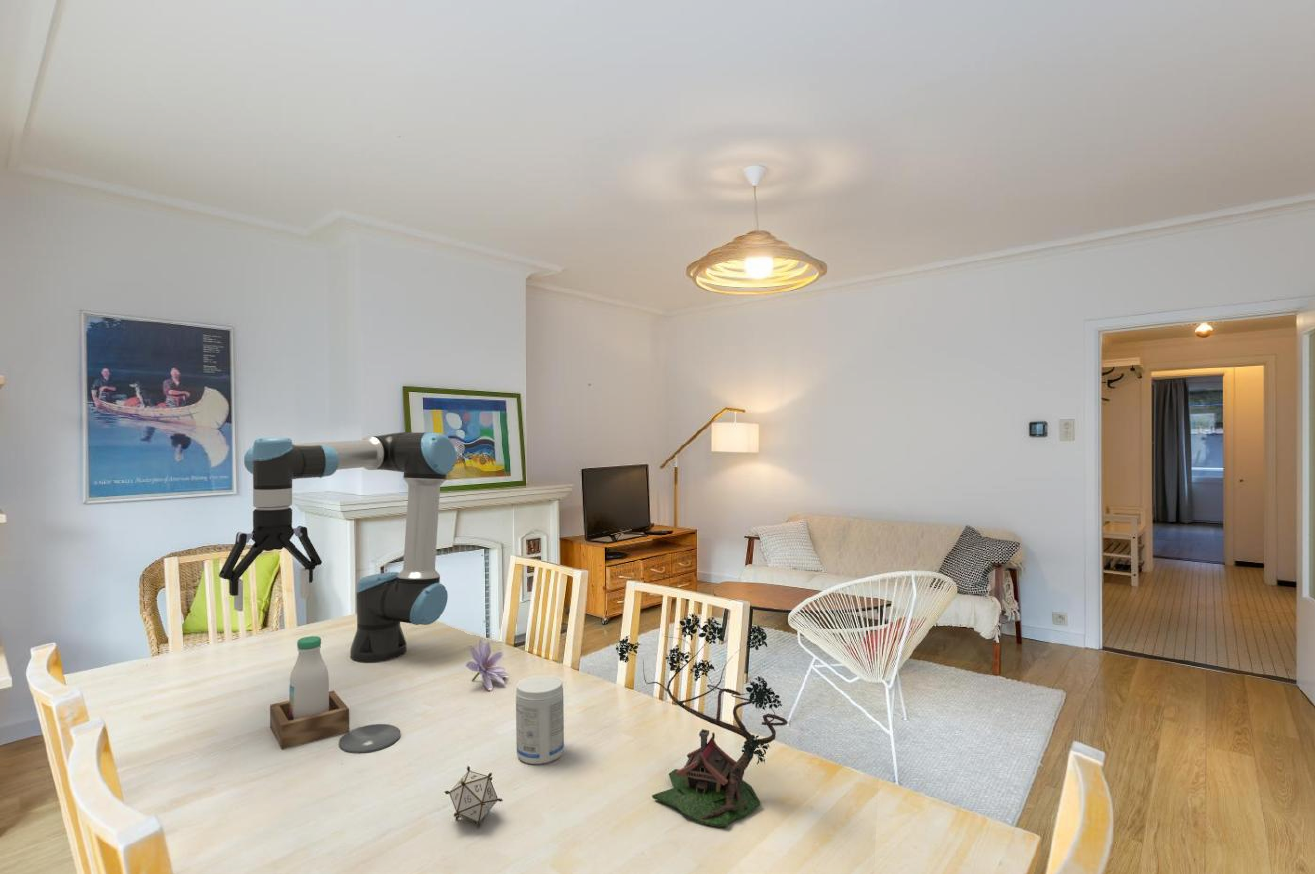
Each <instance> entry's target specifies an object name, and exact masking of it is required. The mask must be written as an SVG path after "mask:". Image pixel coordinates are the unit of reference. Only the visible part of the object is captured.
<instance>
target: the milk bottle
mask: <svg viewBox="0 0 1315 874" xmlns="http://www.w3.org/2000/svg"><path fill="white" fill-rule="evenodd" d="M296 645H297V647H296V648H297V652H298V654H297V655H298V656H297V658H296V661H295V664H294V666H293V668H292V670H291V672H290V676H289V677H290V678H289V690H288V691H289V695H288V697H289V698H288V699H289V700H288V701H289V721H290V720H295V719H299V718H303V717H307V716H311V715H315V714H319V713H323V712H328V711H329V691H330V684H329V683H330V681H329V680H330V679H329V678H330V677H329V671H328V667H327V665H326V662H325V661H324V659H323V657H322V654H321V648H322V646H321V645H322V639H321V637H320V636H315V635H311V636H304V637H302V638H299V639H298V640H297V644H296Z"/></svg>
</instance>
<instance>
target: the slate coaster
mask: <svg viewBox="0 0 1315 874" xmlns="http://www.w3.org/2000/svg"><path fill="white" fill-rule="evenodd" d="M400 738H401V729H400V728H398V726H395V725H392V724H386V723H377V724H376V723H375V724H368V725H363V726H359V727H356V728H353V729H352V730H349V732H347V733H343V734H342V736H341V737H340V738H339V741H338V746H339V748H340V749H341V751H344V752H346V753H353V754H365V753H372V752H377V751H380V750H383V749H387V748H389V747H390V746H392V745H394V744H396V743H397V742H398V741H399V740H400Z"/></svg>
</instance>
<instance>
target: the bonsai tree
mask: <svg viewBox="0 0 1315 874" xmlns="http://www.w3.org/2000/svg"><path fill="white" fill-rule="evenodd" d="M689 616H690V617H691V618H690V617H689ZM678 623H679V624H680V626H682V627H680V628H677V630H680V629H681V635H683V637H684V638H686V637H687V636H690V642H692V640H693V639H694V638H693V637H694V634H697V631H698V628H699V629H700V630H701V631H702V632H700V633H699V634H698V637H699V638H704V639H705V641H706V643H705V644H704V645H703V646H702V647H701V648H700V649H699V650H698V651H697V652H696V654H694V655H693V653H692V652H693V648H692V646H691V645H690V643H689V642H688V641H686V640H685V639H682V638H678V637H676V639H677V640H678V639H679V640H682V641H684V642H686V643H687V644H688V645H689V647H690V649H691V653H690V651H687V652H685V653H684V652H681V651H680V647H679V646H680V645H681V644H680V643H679V644H676V645H675V646H674V647H673V648H672V649H669V655H668V653H666V656H665V660H666V662H667V664H668V665H669V666H670V667H669V670H670V672H674V675H673V676H672V677H671V678H670V679H669V681H668V684H667V686H666V687H665V686H664V685H663V684H661V682H658V681H652V682H647V681H646V677H645V675H643V680H644V682H645V684H647V685H650V684H657V685H658V686H660V687H661V688H663V689H664V690H665V691H666V692H667V693H668V696H669V697H670V699H671V700H672V701H673V702H675V704H676V705H677V706H679V707H680V708H682V709H683V710H685V711H686V712H687V713H690V714H691V715H693V716H695V717H697V718H699V719H702V720H703V721H705V722H708V723H710V724H712V725H714V726H718V727H720V728H722V729H725V730H727V731H730V732H732V733H734V734H737V735H739V736H741V737H743V738H744V739H745V741H744V742H743V743H744V744H743V746H742V747H741V752H742V754H741V756H740V757H739V758H738V760H737V761H736V760H734V759H733V758H732V757H731V756H729V755H728V754H727V753H726V752H725V751H724V750H723V749H722V748H721V747H719V745H718V744H717V743H716V740H715V736H716V735H715V734H716V733H715V732H712V733H711V734H712V736H711V737H710V739H709V740H708V737H709V734H710V730H708V729H703V728H702V729H701V730H700V732H699V734H698V735H699V736H698V737H700V747H699V748H697V749H695V750H693V751H691V752H689V753H688V754H687V755H686V757H687V758H688V759H687V761H686V763H685V765H684V766H683V767H682V768H681V769H679V768H678V769H677V768H675V769H673V770H671V771H670V772H669V773H668V776H669V780H670V781H671V785H672V787H673V788H670V789H666V790H663V791H660V792H657V793H655V794H652V795H651V797H652V799H654V800H656V801H659V802H661V803H664V804H665V805H668V806H671V807H674V808H676V809H678V810H679V811H680V813H681V814H683V815H684V816H685V817H688V818H690V819H692V820H694V821H696V822H698V821H699V823H701V824H703V825H705V826H707V825H709V827H718V828H720V827H721V828H727V827H728V826H729V824H731V822H733V821H736V820H738V819H742V818H745V817H746V816H748V815H749V814H750V813H751V812H753V811H754V810H756V809H757V808H758V807H760V806H761V801H760V800H759V798H758V796H757V794H756V792H755V790H754V788H753V787H752V786H751V784H750V783H748V782H746V781H745V780H744V779H743V777H744V774H745V771H746V769H747V768H748V766H749V765H750V762H751V761H752V759H753V758H754V755H755V756H756V757H757V763H756V765H759V764H760V763H764V764H765V763H766V762H765V761H766V758H765V756H766V754H767V751H766V750H768V749H769V748H771V746H770V745H769V743H771V742H773V741H775V739H776V737H777V736H776V734H777V731H776V730H775V728H774V726H775V727H776V726H777V727H778V726H786V725H788V724H789V722H788V721H787V720H786V719H785V718H784V717H782V716H779V715H777V714H776V713H775V710H774V709H773V708H775V709H777V708H779V707H783V704H782V700H779V699H780V695H779V694H776V693H775V692H774V691H773V690H774V689H772V687H769V688H767V687H768V682H767V681H766V680H765V679H764V677H762V676H758V675H757V677H754V679H755V680H756V681H749V684H747V686H748V687H745V691H746V692H747V693H746V695H749V697H748V698H745V697H741V696H742V695H743V696H744V695H745V693H741V692H739V691H736V690H734V689H731V688H720V687H718V686H719V685H720V684H721V681H722V679H723V673H724V670H725V667H726V666H727V664H728V663H729V661H730V660H731V659H732V658H733V656H731V657H730V658H729V659H728V660H727V661H726V662H725V663H726V664H725V665H724V666H723V669H722V672H721V676H720V680H719V681H718V682H717V684H716V685H714V683H712V682H711V683H712V685H711V684H707V686H706V687H707V688H709V689H710V690H708V691H706V692H704V693H702V694H699V695H698V696H694V697H692V698H688V699H684V700H678V699H677V698H676V697H675V696H674V695H673V694H672V692H671V689H670V686H671V683H672V681H673V680H674V679H675V677H676V676H677V675H678V674H679V673H680V672H681V671H682V670H683V669H684V668H685V667H686V666H687V665H688V664H689V663H690V662H691V661H693V659H694V658H695V657H696V656H697V655H698V654H699V653H700V652H701V651H702V649H704V647H705V646H706V645H707V644H709V645H710V644H712V643H713V644H716V643H717V642H716V639H718V640H719V641H721V642H724V637H723V635H722V633H723V632H724V628H723V627H719V626H722V624H721V623H719V622H718V621H717V620H716V619H715V617H713V616H712V617H709V618H707V621H703V624H704V625H703V626H702V627H701V625H700V624H699V623H700V618H698V615H696V614H695V613H691V614H688V616H683V618H682V619H681V620H679V622H678ZM706 623H707V624H706ZM750 628H751V630H750V631H749V635H748V636H747V638H748V640H747V641H746V644H745V645H744V646H746V645H747V647H746V649H753V648H754V649H755V650H756V651H759V647H761V646H763V645H764V646H765V647H766V648H768V643H767V641H766V640H767V637H768V636H767V634H766V631H765V629H764V628H762V625H751V627H750ZM664 634H666V632H665V633H663V637H665V638H666V636H664ZM629 636H631V635H626V636H625V637H623V639H621V640H619V641H618V642H619V645H618V643H616V644H615V645H616V646H615V651H616V654H618V656H619V658H618V659H619V662H620V661H623V662H624V663H625V664H627V663H629V662H630V659H629V656H630V655H631V656H635V657H636V655H635V654H638V650H637V649H638V648H639V646H642V644H641V643H639V642H635V643H632V642H629V639H630V638H629ZM669 638H670V639H674V637H673V636H671V637H670V636H669ZM744 646H743V647H744ZM739 651H740V649H738V650H737V651H736V653H738V652H739ZM631 652H633V653H634V654H633V653H631ZM686 654H687V655H686ZM690 655H691V658H690ZM689 658H690V659H689ZM688 659H689V660H688ZM642 662H643V663H642V664H643V665H642V666H643V667H642V670H643V673H645V669H644V668H645V667H644V666H645V665H644V663H645V662H644V660H642ZM683 662H685V664H684V663H683ZM711 663H712V661H708V660H703V659H700V660H699V662H697V661H695V662H694V664H693V666H692V668H690V669H689V670H690V674H692V673H694V674H693V675H694V678H693V679H694V682H697V681H698V679H700V678H701V676H706V677H707V678H708V679H709V681H711V679H710V676H709V675H708V673H709V672H710V671H711V670H713V671H714V672H716V669H715V667H714V665H713V664H711ZM680 665H683V666H682V667H681V666H680ZM694 669H695V670H694ZM757 682H758V683H757ZM749 685H750V686H749ZM751 686H752V687H751ZM716 690H719V692H718V693H717V694H718V695H717V707H716V708H717V710H716V718H714V717H711V716H708V715H706V714H704V713H701V712H699V711H697V710H696V709H693V708H691V707H689V706H687V705H686V704H684V703H688V702H691V701H694V700H697V699H700V698H701V697H704V696H706V695H707V694H709V693H711V692H712V691H713V692H716ZM724 692H726V693H729V694H730V696H731V697H733V698H736V699H740V700H743V701H744V702H741V703H738V704H736V705H735V706H734V707H733V710H732V714H733V718H734V720H735V722H736V723H737V725H738V726H736V725H733V724H732V723H728V722H724V721H722V720H721V713H722V712H721V710H722V694H723V693H724ZM750 704H752V705H754V706H755V709H756V710H757V709H758V710H760V709H762V710H763V711H765V710H766V708H767V707H768V709H771V710H772V712H773V713H774V714H772V713H766V714H763V715H762V719H763V721H762V722H760V723H761V725H763V726H766V727H768V730H770V732H771V735H770V736H767V737H763V738H759V736H760V735H758V734H757V735H756V736H755V735H754V734H751V733H750V731H748V730H747V728H746V726H745V725H744V723H743V722H742V721H741V719H740V718H739V716H738V714H737V711H738V709H739V708H740V707H743V706H746V705H747V706H748V705H750ZM767 704H768V706H767ZM769 718H770V720H769ZM774 720H778V721H780V722H773V721H774Z"/></svg>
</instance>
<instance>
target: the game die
mask: <svg viewBox="0 0 1315 874" xmlns="http://www.w3.org/2000/svg"><path fill="white" fill-rule="evenodd" d="M466 770H467V772H466V773H465V774H463V776H462V777H461V778H460V780H459V781H458V782H457V783H456V784H455V785H454V787H453V788H452V789H451V790H450V791H449V790H445V791H444V794H445V795H449V796H450V799H451V802H452V804H453V807H454V810H455V813H453V817H454V818H455V821H457V820H459V818H462V819H466V820H469V821H472V822H474V823H477V827H478V828H479V829H481V826H482V825H481V821H482V820H483V819H484V818H485V817H486V815H487V814H488V813H489V812H490V810H491V809H492V808H493V807H494V805H496V803H498V802H500V803H501V802H503V801H504V800H503V799H502V798H501V797H500V798H499V797H498V795H497V793H496V790H495V787H494V785H493V782H492V780H493V772H489V773H488V775H485V774H483V773H478V772H476V771H472V770H471V767H470V766H469V765H467V766H466Z"/></svg>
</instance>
